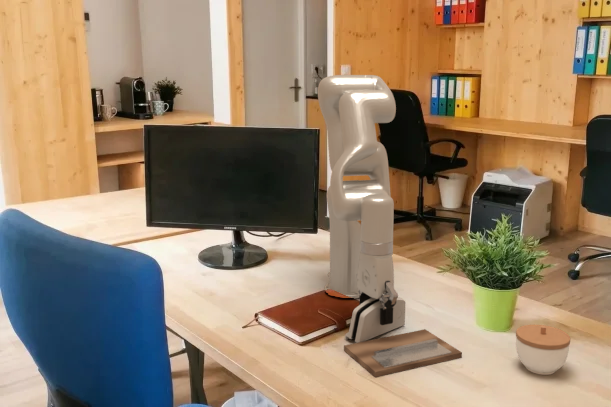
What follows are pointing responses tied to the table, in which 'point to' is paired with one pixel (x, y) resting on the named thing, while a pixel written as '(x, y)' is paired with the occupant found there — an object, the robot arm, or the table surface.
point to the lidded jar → (542, 348)
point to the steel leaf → (409, 353)
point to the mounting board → (367, 348)
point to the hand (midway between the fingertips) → (375, 316)
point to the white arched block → (373, 320)
